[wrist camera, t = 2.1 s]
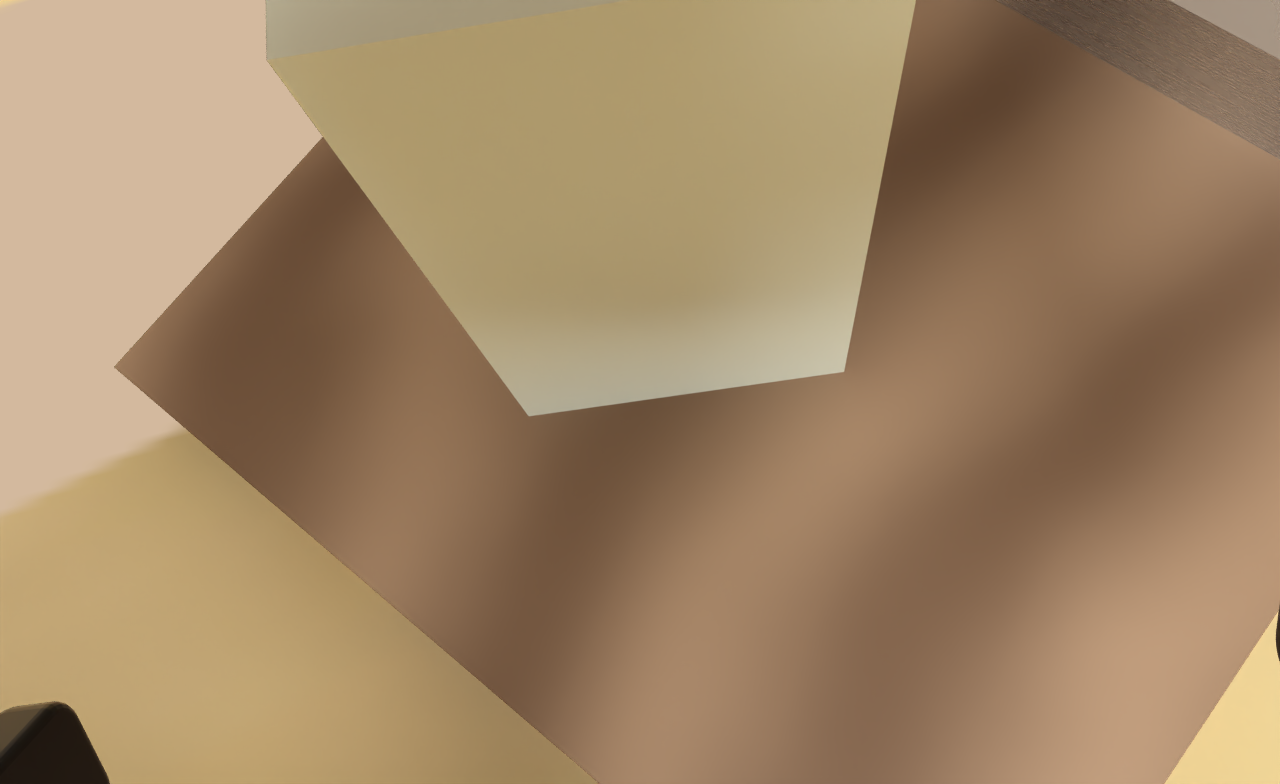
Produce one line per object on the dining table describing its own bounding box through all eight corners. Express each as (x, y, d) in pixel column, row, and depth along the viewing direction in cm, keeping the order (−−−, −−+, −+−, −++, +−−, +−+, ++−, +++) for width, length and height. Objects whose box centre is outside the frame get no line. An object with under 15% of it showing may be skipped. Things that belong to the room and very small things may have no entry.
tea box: (844, 372, 22) (925, -49, 10) (528, 416, 22) (267, 59, 11) (804, 152, 23) (838, -436, 12) (509, 197, 23) (260, -326, 12)
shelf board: (1480, 263, 22) (1529, 230, 21) (946, 1067, 19) (960, 1092, 18) (670, -188, 28) (664, -240, 26) (152, 389, 25) (114, 367, 23)
